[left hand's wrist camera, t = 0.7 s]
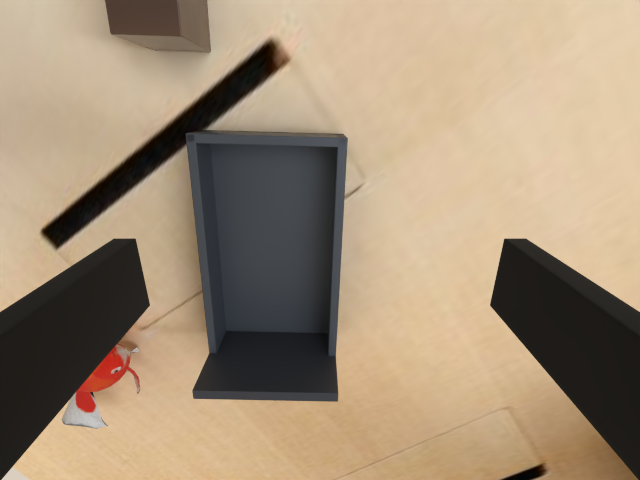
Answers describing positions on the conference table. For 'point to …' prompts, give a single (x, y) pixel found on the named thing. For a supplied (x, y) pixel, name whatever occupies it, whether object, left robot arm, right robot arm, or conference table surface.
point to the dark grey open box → (269, 261)
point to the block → (161, 23)
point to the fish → (98, 388)
